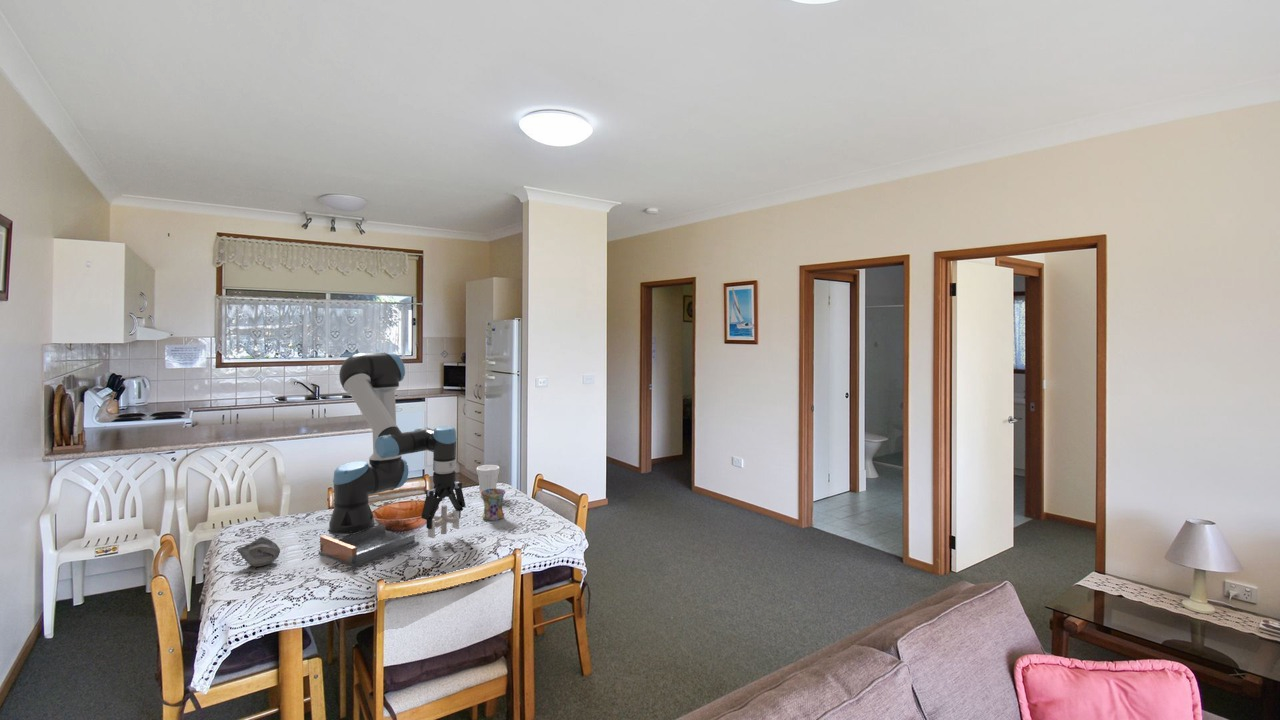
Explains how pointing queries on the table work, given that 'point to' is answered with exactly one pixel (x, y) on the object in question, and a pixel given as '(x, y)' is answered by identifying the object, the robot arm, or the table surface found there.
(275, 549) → the fossil
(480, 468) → the cup
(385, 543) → the guide channel
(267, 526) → the table surface
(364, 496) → the robot arm
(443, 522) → the pipe connector
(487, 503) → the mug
